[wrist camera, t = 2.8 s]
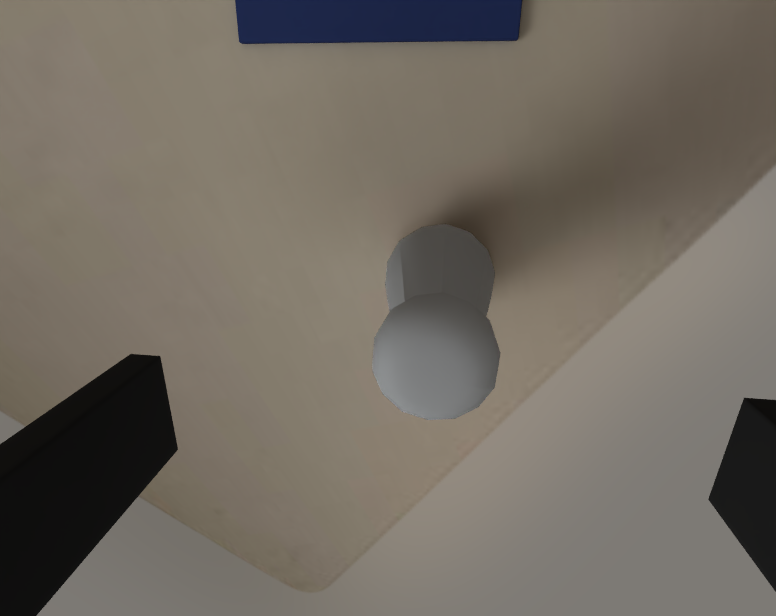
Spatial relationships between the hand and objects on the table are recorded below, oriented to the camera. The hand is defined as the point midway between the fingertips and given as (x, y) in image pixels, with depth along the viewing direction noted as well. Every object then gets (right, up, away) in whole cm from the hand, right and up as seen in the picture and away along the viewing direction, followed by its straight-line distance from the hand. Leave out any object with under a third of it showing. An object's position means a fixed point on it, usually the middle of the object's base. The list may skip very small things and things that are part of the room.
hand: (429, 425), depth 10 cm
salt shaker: (+2, +5, +16) cm, 17 cm away
